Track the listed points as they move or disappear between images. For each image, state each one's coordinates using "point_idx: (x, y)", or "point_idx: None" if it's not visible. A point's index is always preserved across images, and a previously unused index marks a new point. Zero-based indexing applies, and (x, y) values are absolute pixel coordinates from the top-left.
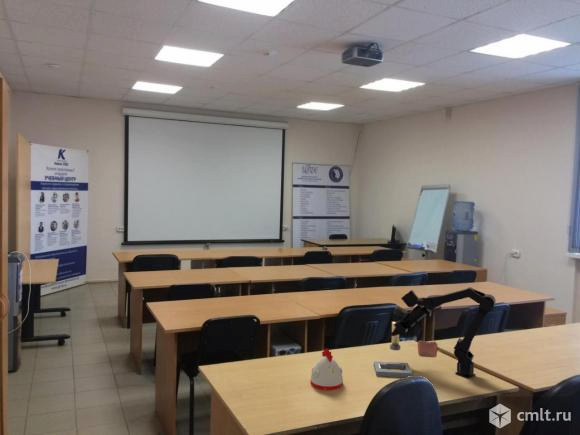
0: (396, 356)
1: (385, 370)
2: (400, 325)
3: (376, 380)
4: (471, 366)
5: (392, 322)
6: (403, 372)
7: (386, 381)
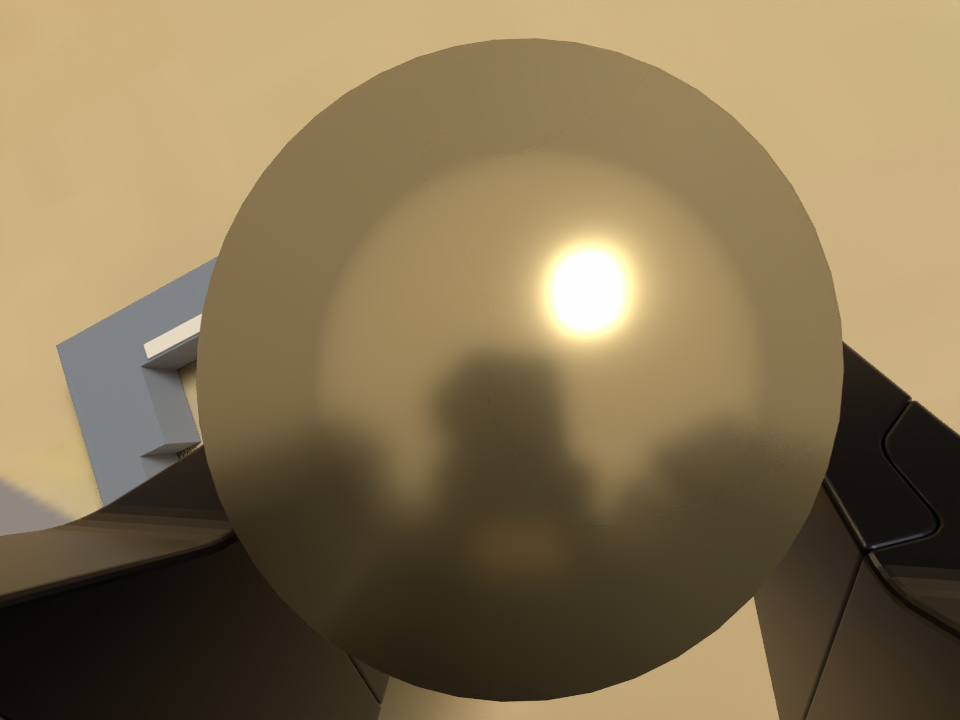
0: (878, 360)
1: (118, 425)
2: None
3: (6, 389)
4: None
5: (356, 119)
6: None
7: (21, 481)
